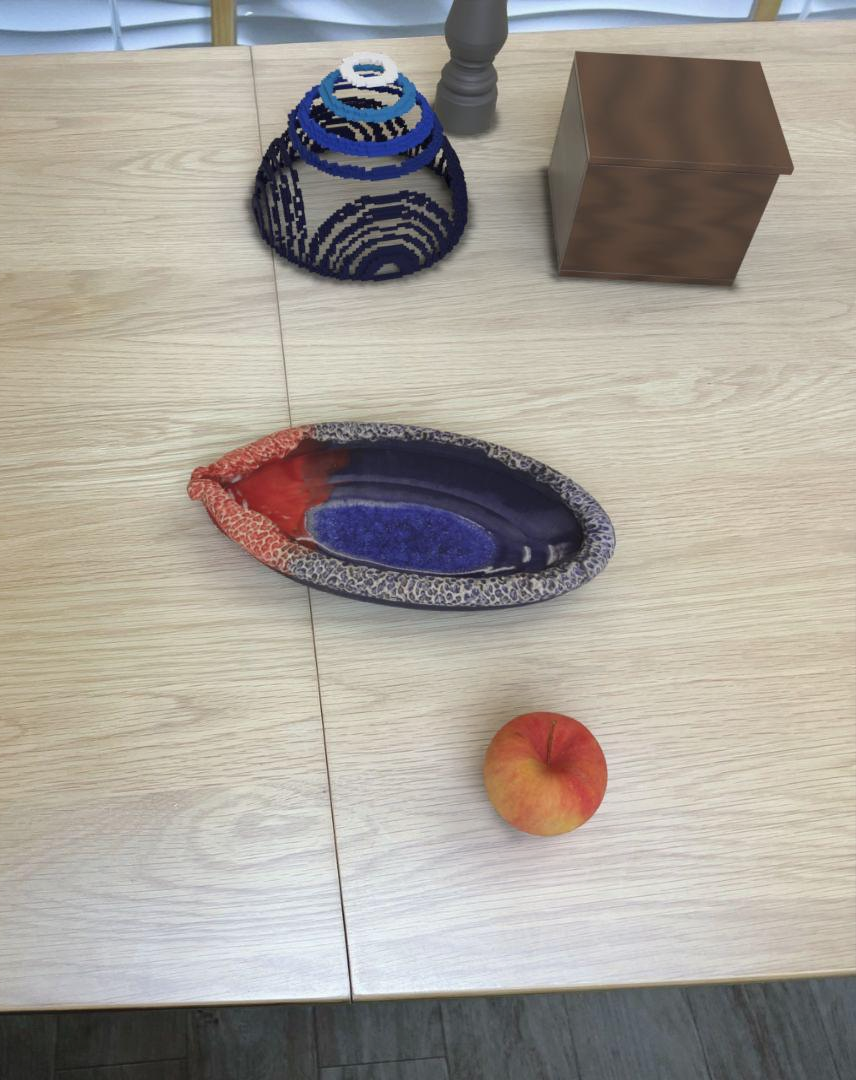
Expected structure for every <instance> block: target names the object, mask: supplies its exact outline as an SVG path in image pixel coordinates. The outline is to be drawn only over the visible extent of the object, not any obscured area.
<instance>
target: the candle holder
mask: <svg viewBox="0 0 856 1080" xmlns="http://www.w3.org/2000/svg"><path fill="white" fill-rule="evenodd" d="M507 2H508V1H507V0H453V1H452V4H451V6H450V9H449V11H448V14H447V17H446V20H445V23H444V28H443V30H444V31H443V32H444V38H445V43H446V46H447V48H448V50H449V56H450V59H449V60H448V61H447V62H445V64H444V66H442V69H441V71H440V76H441V77H440V79H439V81H438V82H437V84H436V90H435V96H434V97H435V98H434V106H433V112H435V114H436V115H437V117H438V119H439V121H440V123H441V125H442V127H443V129H444V130H443V131H446V132H448V133H450V134H454V135H458V136H474V135H478V134H483V133H484V132H486V131H487V130H489V129H490V128H491V127H492V125H493V123H494V118H495V113H496V107H497V101H498V96H499V91H498V81H499V76H498V70H497V69H496V68H495V65H494V61H495V60H496V56H497V55H498V54H499V53H500V51H502V49H503V47H504V46H505V44H506V42H507V40H508V37H509V19H508V18H509V17H508V3H507Z"/></svg>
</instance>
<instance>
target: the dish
mask: <svg viewBox="0 0 856 1080" xmlns="http://www.w3.org/2000/svg"><path fill="white" fill-rule="evenodd" d="M186 491H187V495H188V498H189V499H190V500H191V501H201V502H202V504H203V505H204V507H205V509H206V512H207V515H208V516H209V518H210V519H211V521H212V523H213V524H214V526H215V527H216V528H217V529H218V531H220V532H221V533H222V534H223V535H225V536H226V537H227V538H229V540H232V541H233V542H234V543H235V544H237V545H238V546H239V547H240V548H241V549H243V550H244V551H245V552H247V553H248V554H249V555H250V556H252V557H253V558H254V559H255V560H257V561H258V562H260V563H261V564H263V565H264V566H266V567H267V568H269V569H270V570H272V571H274V572H276V573H278V574H279V575H281V576H283V577H285V578H287V579H289V580H291V581H293V582H296V583H298V584H301V585H303V586H306V587H309V588H311V589H314V590H316V591H319V592H323V593H327V594H331V595H334V596H338V597H341V598H346V599H350V600H355V601H359V602H364V603H369V604H374V605H379V606H387V607H393V608H402V609H410V610H417V611H418V610H419V611H430V612H431V611H432V612H433V611H434V612H485V611H496V610H497V611H499V610H506V609H507V610H508V609H513V608H522V607H526V606H531V605H535V604H539V603H544V602H548V601H550V600H553V599H556V598H558V597H562V596H564V595H566V594H568V593H569V592H572V591H575V590H577V589H580V588H581V587H583V586H584V585H586V584H588V583H590V582H591V581H593V580H595V578H596V577H597V576H599V575H600V573H602V572H604V570H606V568H607V565H608V564H609V563H610V561H611V559H612V557H613V556H614V554H615V549H616V545H617V539H616V530H615V527H614V525H613V522H612V520H611V518H610V516H609V515H608V514H607V512H606V511H605V509H604V508H603V507H602V505H601V503H599V502H598V500H596V499H595V498H594V497H593V495H591V494H590V493H589V492H588V491H587V490H586V489H585V488H584V487H582V486H581V485H579V484H578V483H577V482H575V481H574V480H573V479H571V478H570V477H569V476H567V475H565V474H564V473H562V472H560V471H558V470H557V469H555V468H553V467H551V466H549V465H547V464H546V463H544V462H541V461H539V460H537V459H535V458H533V457H531V456H528V455H526V454H523V453H521V452H518V451H516V450H513V449H510V448H508V447H505V446H503V445H500V444H496V443H493V442H490V441H486V440H485V439H480V438H476V437H472V436H468V435H464V434H460V433H457V432H451V431H446V430H441V429H435V428H431V427H423V426H416V425H409V424H401V423H400V424H399V423H390V422H389V423H388V422H377V421H376V422H375V421H329V422H327V421H326V422H319V423H312V424H303V425H299V426H298V425H297V426H295V427H290V428H285V429H282V430H279V431H275V432H273V433H271V434H268V435H265V436H263V437H262V438H258V439H257V440H255V441H252V442H250V443H248V444H245V445H243V446H240V447H237V448H235V449H233V450H231V451H228V452H227V453H225V454H224V455H223V456H222V457H220V458H218V459H217V460H215V461H214V462H213V463H211V464H209V465H208V466H202V465H200V466H197V467H196V468H194V469H193V471H192V472H191V474H190V478H189V481H188V483H187V485H186Z"/></svg>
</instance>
